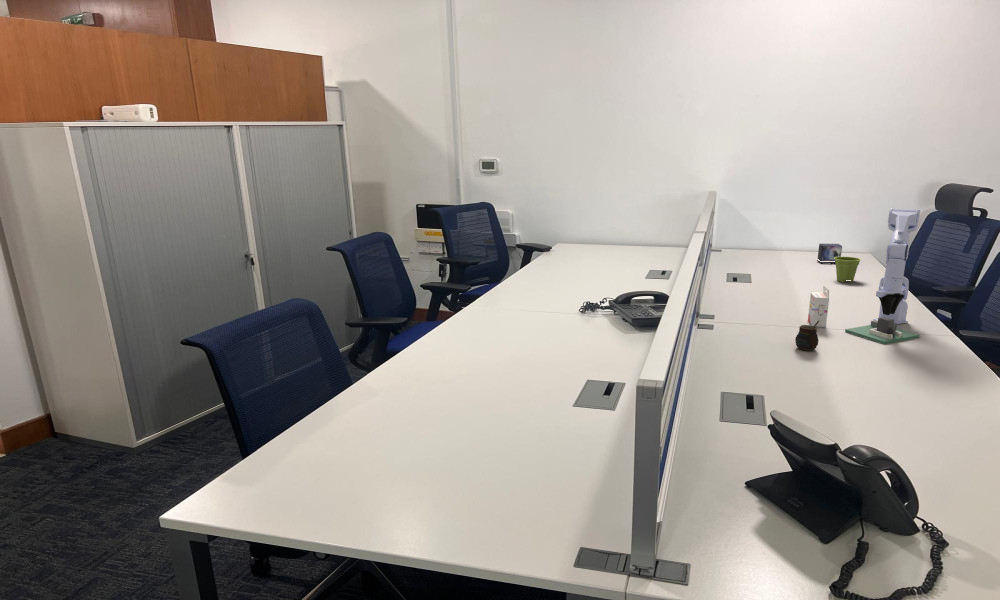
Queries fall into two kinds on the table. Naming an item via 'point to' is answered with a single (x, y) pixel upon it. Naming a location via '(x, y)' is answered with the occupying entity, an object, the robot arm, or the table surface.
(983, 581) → the table surface
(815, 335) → the mate gourd
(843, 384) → the table surface
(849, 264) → the plant pot
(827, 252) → the small box
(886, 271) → the robot arm
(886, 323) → the plug
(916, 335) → the board
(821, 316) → the ink cartridge box
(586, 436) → the table surface
